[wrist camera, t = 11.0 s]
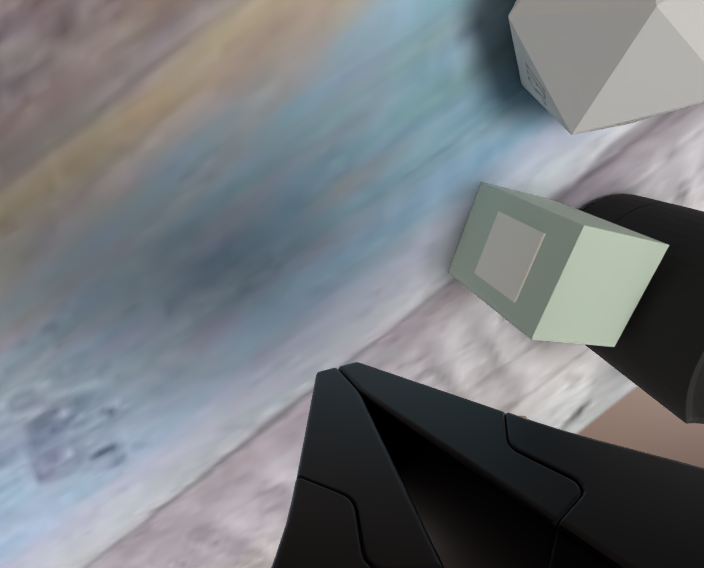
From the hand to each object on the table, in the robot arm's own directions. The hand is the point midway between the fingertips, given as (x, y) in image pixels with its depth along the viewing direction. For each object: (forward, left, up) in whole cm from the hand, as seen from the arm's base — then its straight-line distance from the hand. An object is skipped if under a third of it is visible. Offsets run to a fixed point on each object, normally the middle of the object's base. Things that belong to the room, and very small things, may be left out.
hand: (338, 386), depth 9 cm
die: (+15, +6, -13) cm, 21 cm away
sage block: (+13, -4, -13) cm, 19 cm away
